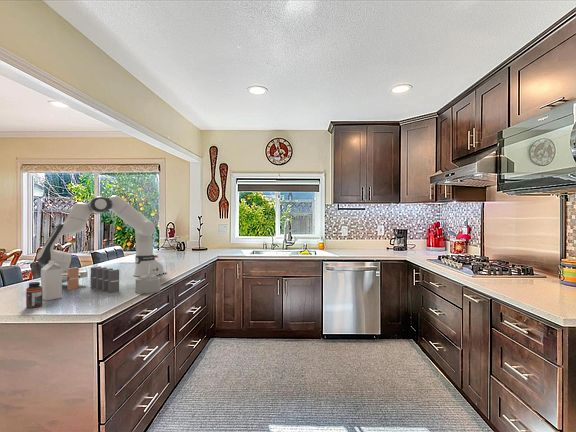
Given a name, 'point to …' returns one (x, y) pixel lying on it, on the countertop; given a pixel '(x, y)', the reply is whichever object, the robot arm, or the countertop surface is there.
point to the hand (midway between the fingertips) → (73, 277)
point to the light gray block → (148, 284)
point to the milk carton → (51, 281)
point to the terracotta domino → (73, 278)
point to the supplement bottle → (34, 295)
